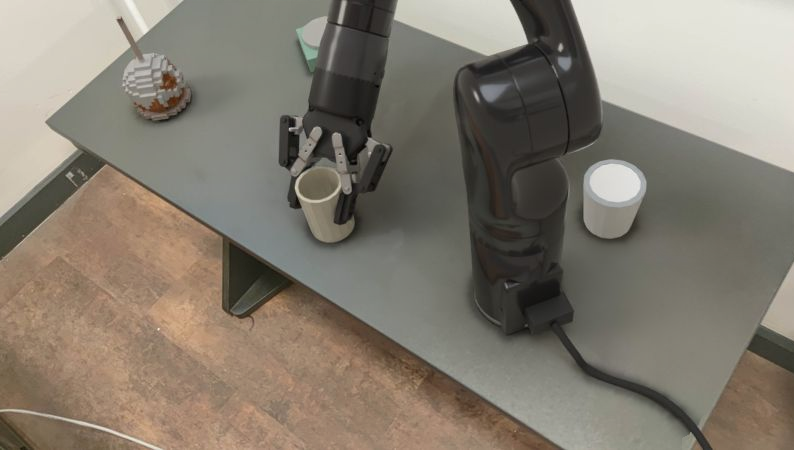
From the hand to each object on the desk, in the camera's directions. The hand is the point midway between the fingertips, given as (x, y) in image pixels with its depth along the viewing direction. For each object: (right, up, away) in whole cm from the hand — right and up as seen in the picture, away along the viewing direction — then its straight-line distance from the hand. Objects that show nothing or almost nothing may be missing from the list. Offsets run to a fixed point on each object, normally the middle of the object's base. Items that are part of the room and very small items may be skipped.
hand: (318, 215), depth 81 cm
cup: (+1, -1, +4) cm, 5 cm away
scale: (-2, +25, +24) cm, 35 cm away
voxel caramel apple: (-25, +16, +20) cm, 36 cm away
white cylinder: (+34, -1, +2) cm, 34 cm away
